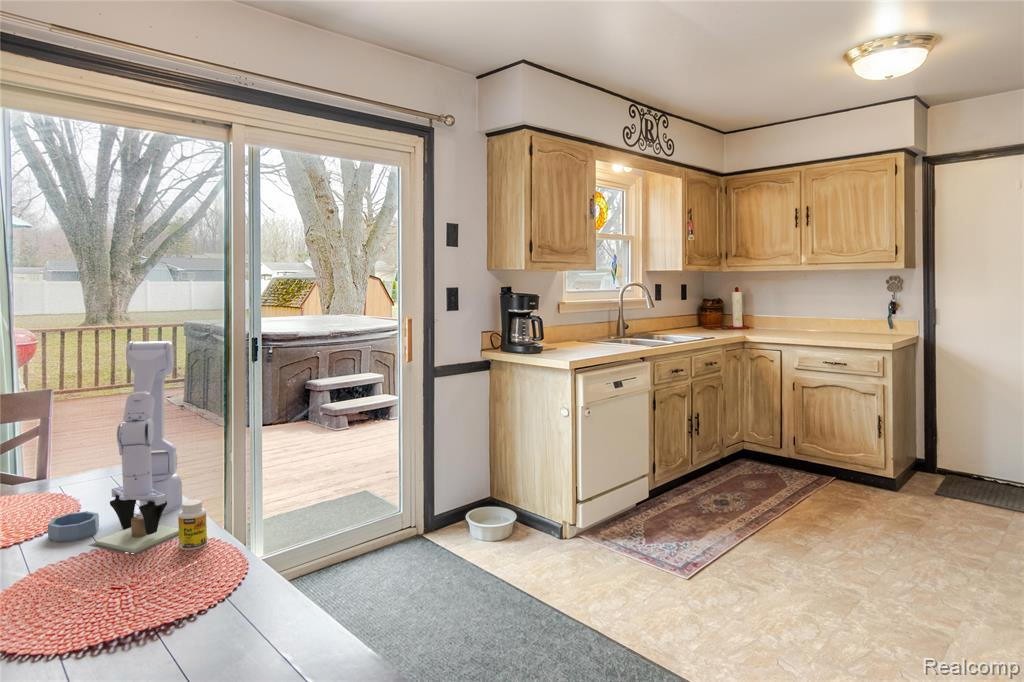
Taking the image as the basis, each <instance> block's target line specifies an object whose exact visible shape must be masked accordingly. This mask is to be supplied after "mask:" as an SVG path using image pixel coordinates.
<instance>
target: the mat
mask: <svg viewBox="0 0 1024 682" xmlns="http://www.w3.org/2000/svg"><path fill="white" fill-rule="evenodd" d="M176 538H179V534H177V535H175V536H173V537H170V538H168V539H166V540H163V541H161V542H159V543H157V544H154V545H152V546H150V547H147V548H145V549H143V550H141V551H138V552H136V553H134V554H131V553H132V552H129V554H130V555H129V556H132V555H133V557H135V556H137V555H139V554H141V553H144V552H146V551H148V550H150V549H153V548H155V547H157V546H159V545H163V544H164V543H166V542H168V541H169V542H170V541H171V540H173V539H176ZM88 546H89V547H94V548H98V549H102V550H107V551H111V552H114V553H115V552H116V553H119V554H123V553H125V552H128V551H124V550H119V549H115V548H110V547H106V546H102V545H97V544H96V542H93V543H91V544H88Z"/></svg>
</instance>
